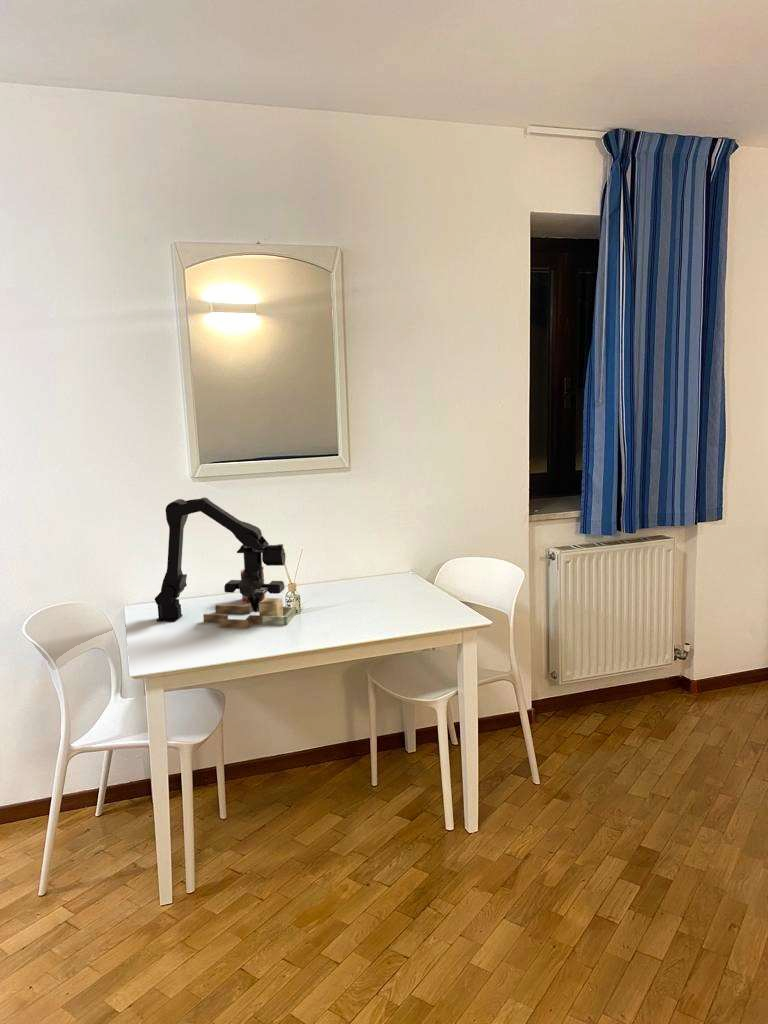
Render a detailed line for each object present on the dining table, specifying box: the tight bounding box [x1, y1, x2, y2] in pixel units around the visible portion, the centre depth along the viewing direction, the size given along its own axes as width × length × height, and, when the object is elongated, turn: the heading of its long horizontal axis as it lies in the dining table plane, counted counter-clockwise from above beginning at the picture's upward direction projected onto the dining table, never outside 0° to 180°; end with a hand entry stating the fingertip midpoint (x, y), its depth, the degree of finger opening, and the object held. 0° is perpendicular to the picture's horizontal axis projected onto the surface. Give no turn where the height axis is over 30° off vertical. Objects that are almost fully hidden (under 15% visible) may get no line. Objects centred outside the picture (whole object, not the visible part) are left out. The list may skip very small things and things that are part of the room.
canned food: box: [240, 568, 266, 604], centre depth 268 cm, size 8×8×11 cm
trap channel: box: [203, 603, 298, 629], centre depth 249 cm, size 28×20×2 cm
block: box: [258, 597, 284, 616], centre depth 247 cm, size 6×6×6 cm
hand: (256, 612), depth 248 cm, fingers closed
